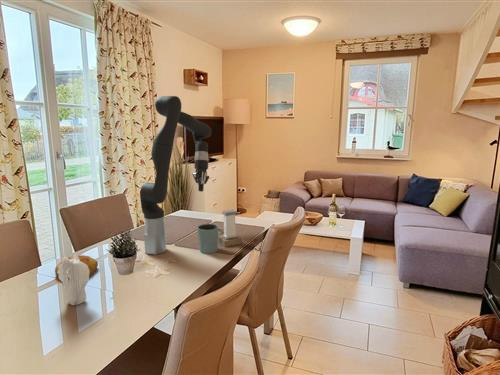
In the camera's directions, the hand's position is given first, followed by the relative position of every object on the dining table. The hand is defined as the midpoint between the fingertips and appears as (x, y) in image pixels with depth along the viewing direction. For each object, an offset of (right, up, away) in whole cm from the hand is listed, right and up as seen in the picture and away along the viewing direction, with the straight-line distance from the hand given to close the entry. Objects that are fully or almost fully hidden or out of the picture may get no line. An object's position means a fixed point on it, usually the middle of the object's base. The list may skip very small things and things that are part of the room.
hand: (200, 191), depth 179 cm
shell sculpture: (-33, -38, -67) cm, 84 cm away
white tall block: (+17, -23, -13) cm, 31 cm away
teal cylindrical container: (+7, -29, -21) cm, 36 cm away
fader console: (+13, -25, -6) cm, 29 cm away
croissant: (-44, -34, -45) cm, 72 cm away
